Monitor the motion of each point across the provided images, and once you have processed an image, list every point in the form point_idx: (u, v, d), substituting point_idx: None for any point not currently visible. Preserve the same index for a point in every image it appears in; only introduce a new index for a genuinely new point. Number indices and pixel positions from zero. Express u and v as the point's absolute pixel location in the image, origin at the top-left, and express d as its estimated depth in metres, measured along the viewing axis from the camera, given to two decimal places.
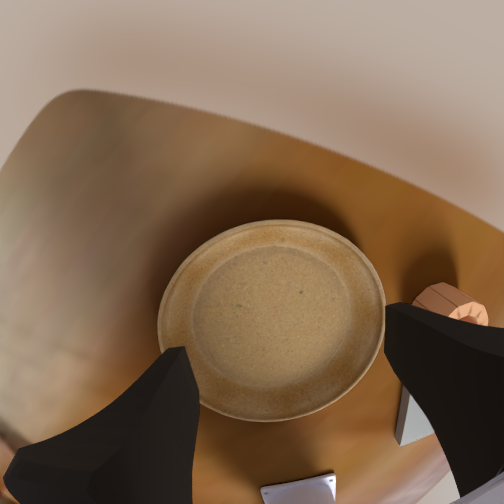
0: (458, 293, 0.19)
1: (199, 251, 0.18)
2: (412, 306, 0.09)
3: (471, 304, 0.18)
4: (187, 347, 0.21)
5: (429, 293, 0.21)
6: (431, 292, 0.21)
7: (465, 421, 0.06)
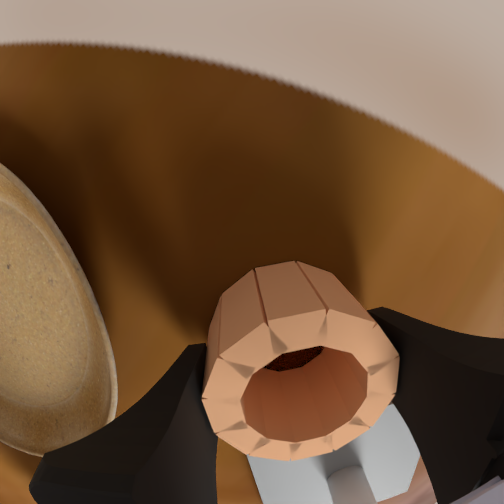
0: (305, 285, 0.09)
1: None
2: (393, 311, 0.09)
3: (320, 316, 0.07)
4: None
5: (245, 283, 0.11)
6: (249, 281, 0.10)
7: (442, 432, 0.06)
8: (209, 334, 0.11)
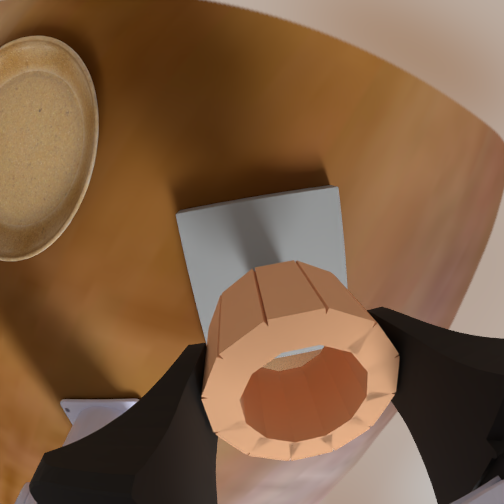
0: (305, 285, 0.09)
1: None
2: (393, 312, 0.09)
3: (320, 315, 0.07)
4: None
5: (244, 282, 0.11)
6: (248, 280, 0.10)
7: (442, 432, 0.06)
8: (209, 334, 0.11)
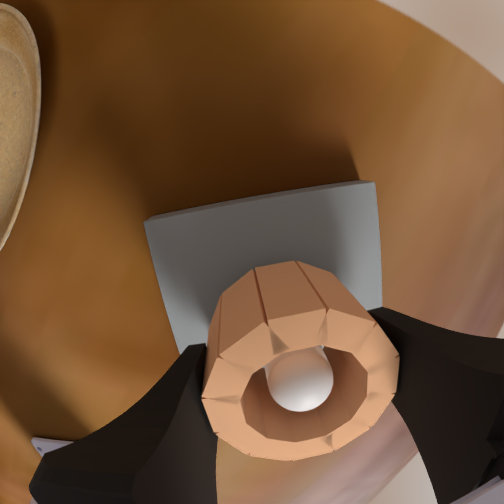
0: (305, 285, 0.09)
1: None
2: (393, 311, 0.09)
3: (320, 316, 0.07)
4: None
5: (245, 283, 0.11)
6: (248, 281, 0.10)
7: (442, 432, 0.06)
8: (209, 334, 0.11)
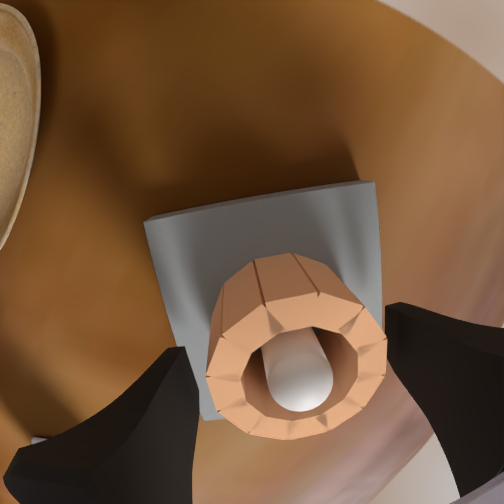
0: (299, 273, 0.10)
1: None
2: (412, 306, 0.09)
3: (312, 299, 0.08)
4: None
5: (245, 273, 0.12)
6: (248, 271, 0.11)
7: (465, 421, 0.06)
8: (212, 321, 0.12)
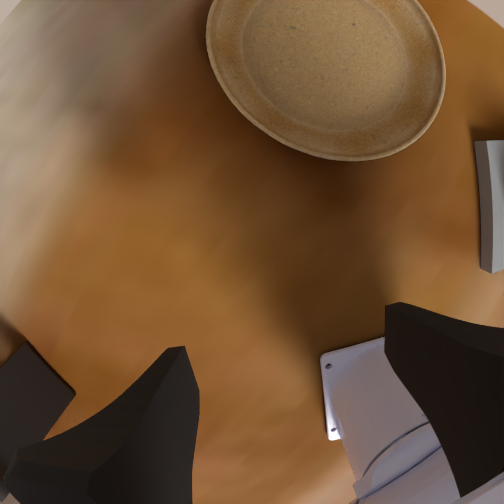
0: None
1: None
2: (412, 306, 0.09)
3: None
4: (235, 63, 0.16)
5: None
6: None
7: (465, 421, 0.06)
8: None
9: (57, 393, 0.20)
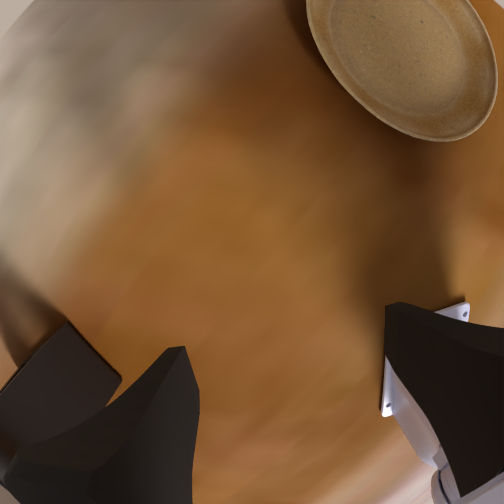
0: None
1: None
2: (412, 306, 0.09)
3: None
4: (326, 40, 0.16)
5: None
6: None
7: (465, 421, 0.06)
8: None
9: (103, 379, 0.20)
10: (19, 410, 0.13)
